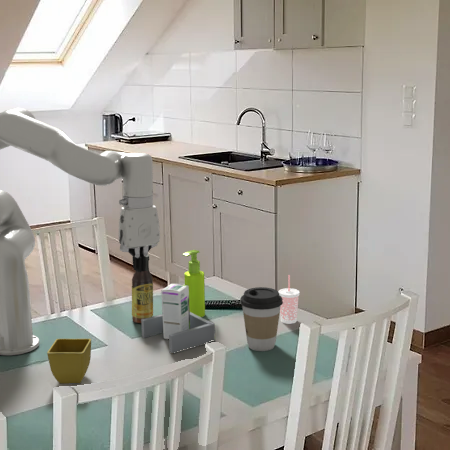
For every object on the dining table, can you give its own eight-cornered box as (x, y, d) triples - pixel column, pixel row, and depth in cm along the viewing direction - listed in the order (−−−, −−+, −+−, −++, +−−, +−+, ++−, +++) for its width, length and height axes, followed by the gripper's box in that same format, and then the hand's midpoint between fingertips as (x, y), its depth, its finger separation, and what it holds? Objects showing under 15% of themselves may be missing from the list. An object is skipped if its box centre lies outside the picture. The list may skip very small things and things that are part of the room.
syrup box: (182, 342, 198) (180, 291, 195) (162, 339, 200) (160, 288, 197) (190, 334, 203) (189, 285, 200) (171, 331, 206) (170, 282, 202)
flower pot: (48, 387, 172) (46, 352, 170) (58, 371, 181) (56, 337, 179) (85, 388, 172) (83, 352, 170) (93, 372, 180) (91, 338, 178)
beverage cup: (288, 326, 208) (288, 279, 205) (273, 320, 213) (274, 274, 210) (303, 321, 212) (304, 275, 209) (289, 315, 217) (289, 270, 213)
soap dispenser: (178, 316, 217) (177, 251, 212) (194, 310, 222) (193, 246, 217) (193, 320, 213) (191, 255, 209) (209, 314, 218) (208, 250, 214)
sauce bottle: (137, 326, 210) (134, 259, 205) (128, 319, 215) (125, 254, 210) (157, 321, 213) (155, 256, 208) (148, 315, 218) (146, 251, 214)
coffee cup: (240, 337, 201) (240, 285, 197) (282, 337, 200) (282, 285, 197) (239, 354, 190) (239, 299, 186) (283, 354, 189) (283, 300, 186)
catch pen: (172, 354, 190) (171, 336, 189) (142, 336, 202) (141, 319, 201) (214, 341, 199) (214, 323, 197) (183, 324, 210) (183, 308, 209)
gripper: (119, 208, 178) (121, 279, 183) (170, 201, 187) (171, 269, 192) (105, 202, 184) (106, 272, 188) (155, 196, 193) (156, 262, 197)
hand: (139, 270), depth 190 cm, fingers closed
